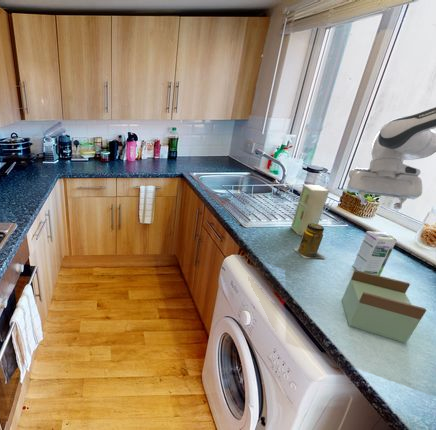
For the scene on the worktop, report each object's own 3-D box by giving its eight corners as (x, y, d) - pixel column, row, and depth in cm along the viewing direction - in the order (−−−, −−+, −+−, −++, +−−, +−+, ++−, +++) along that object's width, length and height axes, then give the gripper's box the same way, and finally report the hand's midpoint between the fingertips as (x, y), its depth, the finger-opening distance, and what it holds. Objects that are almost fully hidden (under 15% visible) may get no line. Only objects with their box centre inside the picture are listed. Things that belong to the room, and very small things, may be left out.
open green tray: (392, 313, 82) (409, 282, 78) (406, 343, 73) (426, 310, 68) (341, 299, 88) (354, 269, 83) (348, 325, 78) (363, 293, 73)
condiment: (293, 248, 115) (301, 221, 110) (314, 249, 115) (323, 222, 110) (303, 258, 108) (313, 230, 103) (326, 259, 108) (337, 231, 103)
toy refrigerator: (288, 227, 132) (301, 183, 124) (305, 228, 131) (320, 185, 123) (296, 235, 125) (310, 190, 116) (314, 236, 124) (330, 191, 116)
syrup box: (361, 274, 100) (378, 238, 93) (351, 265, 105) (367, 230, 99) (379, 276, 99) (398, 240, 93) (369, 266, 104) (385, 231, 98)
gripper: (353, 164, 107) (348, 198, 104) (426, 170, 98) (423, 208, 96) (347, 170, 112) (342, 204, 110) (416, 177, 104) (412, 213, 101)
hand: (380, 206), depth 103 cm, fingers open, 8 cm apart
